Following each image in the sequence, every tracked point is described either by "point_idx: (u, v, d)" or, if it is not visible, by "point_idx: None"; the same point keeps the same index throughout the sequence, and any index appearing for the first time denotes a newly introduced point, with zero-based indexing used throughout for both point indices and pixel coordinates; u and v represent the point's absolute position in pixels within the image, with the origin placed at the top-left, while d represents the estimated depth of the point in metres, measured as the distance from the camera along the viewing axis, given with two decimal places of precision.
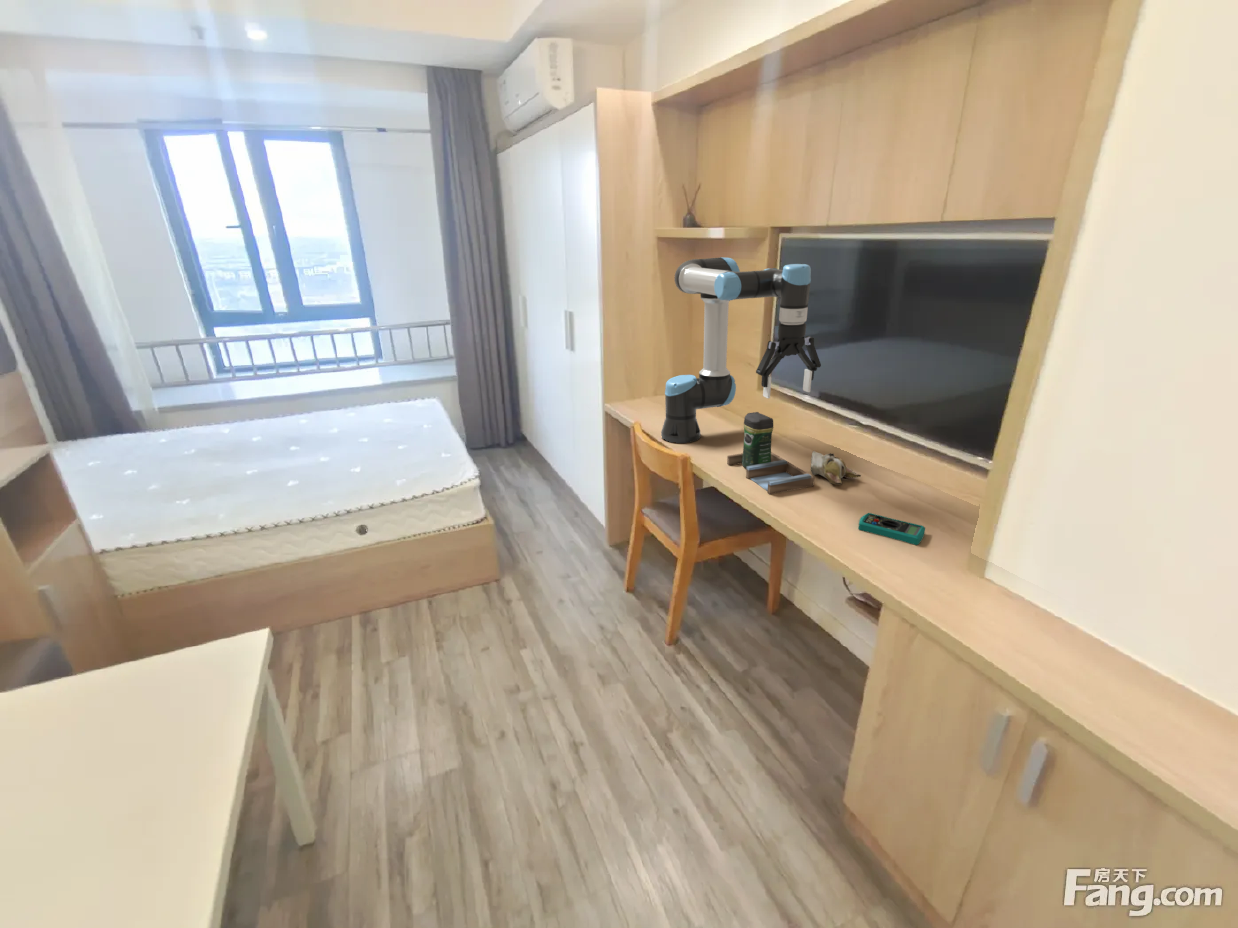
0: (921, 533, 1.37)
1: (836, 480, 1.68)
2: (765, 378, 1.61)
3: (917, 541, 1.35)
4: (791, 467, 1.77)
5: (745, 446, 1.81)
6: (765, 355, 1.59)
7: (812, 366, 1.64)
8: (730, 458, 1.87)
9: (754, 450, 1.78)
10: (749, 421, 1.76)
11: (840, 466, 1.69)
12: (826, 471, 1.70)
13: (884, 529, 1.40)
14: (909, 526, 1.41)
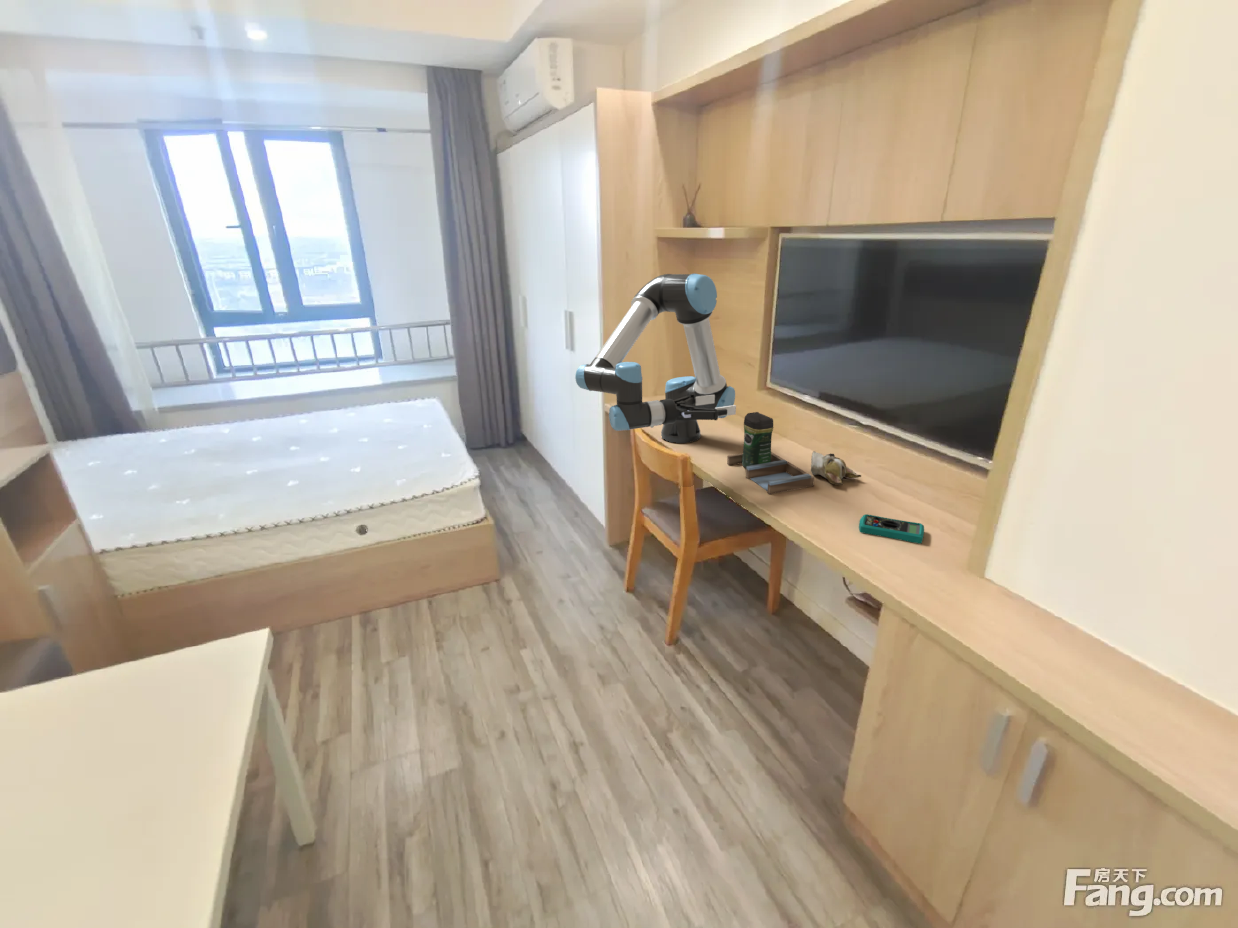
0: (923, 531, 1.37)
1: (836, 480, 1.68)
2: None
3: (921, 540, 1.36)
4: (791, 467, 1.77)
5: (745, 446, 1.81)
6: None
7: None
8: (730, 458, 1.87)
9: (754, 450, 1.78)
10: (749, 421, 1.76)
11: (840, 466, 1.68)
12: (826, 471, 1.70)
13: (887, 530, 1.39)
14: (908, 525, 1.41)
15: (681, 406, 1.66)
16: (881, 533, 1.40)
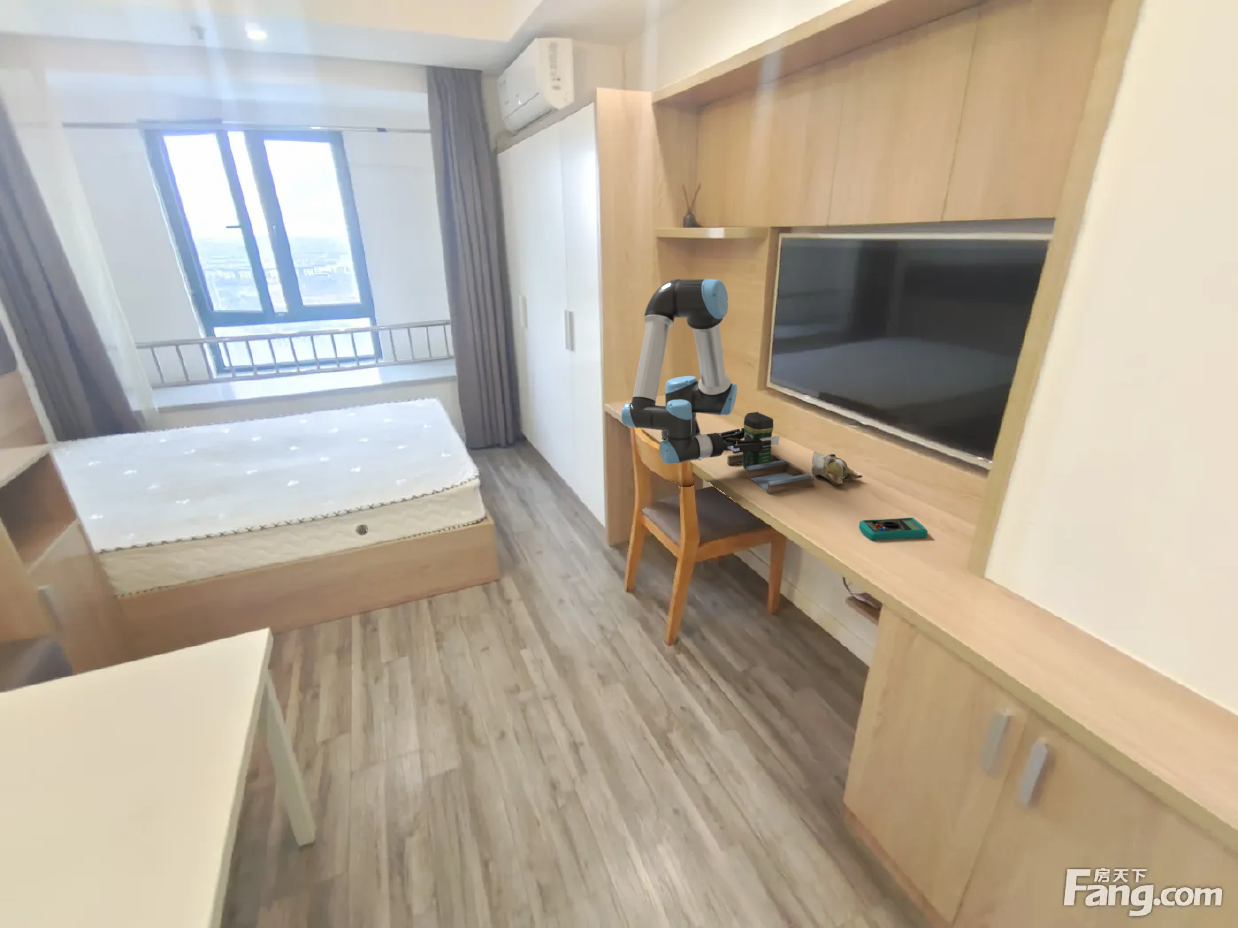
0: (922, 525, 1.40)
1: (838, 481, 1.68)
2: None
3: (926, 534, 1.38)
4: (791, 467, 1.77)
5: None
6: None
7: None
8: (730, 458, 1.87)
9: None
10: (749, 421, 1.76)
11: (841, 467, 1.68)
12: (827, 472, 1.69)
13: (896, 532, 1.38)
14: (903, 521, 1.43)
15: (727, 440, 1.75)
16: (891, 536, 1.38)
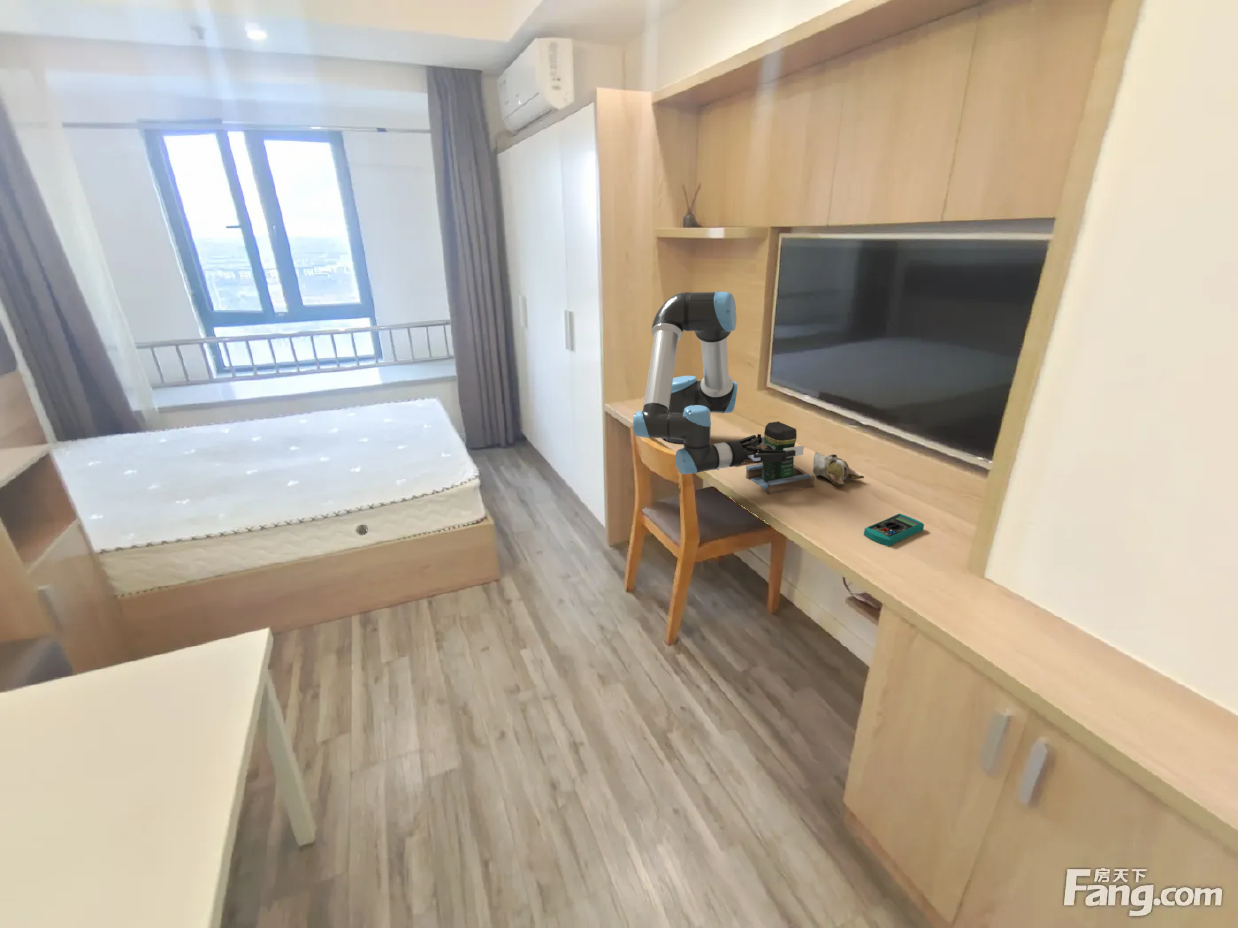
0: None
1: (839, 481, 1.67)
2: None
3: None
4: None
5: None
6: None
7: None
8: None
9: (775, 462, 1.66)
10: (771, 432, 1.65)
11: (843, 467, 1.68)
12: (829, 472, 1.69)
13: (904, 532, 1.38)
14: (896, 519, 1.44)
15: (748, 448, 1.63)
16: (901, 537, 1.38)
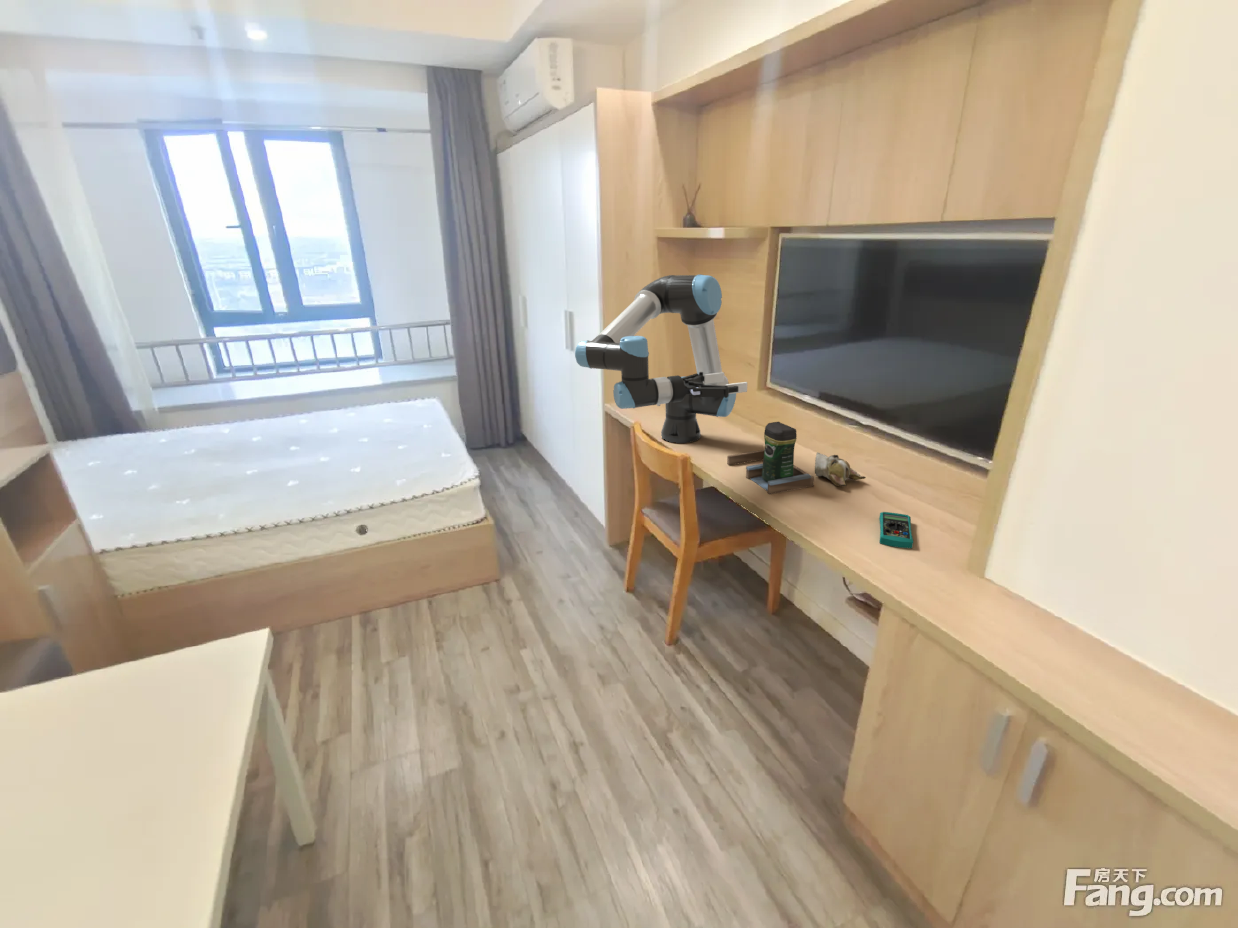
0: None
1: (840, 482, 1.67)
2: None
3: None
4: None
5: (766, 458, 1.70)
6: None
7: None
8: (730, 458, 1.87)
9: (775, 462, 1.66)
10: (771, 432, 1.65)
11: (844, 468, 1.67)
12: (830, 473, 1.69)
13: (910, 529, 1.39)
14: (887, 518, 1.45)
15: (689, 383, 1.57)
16: None
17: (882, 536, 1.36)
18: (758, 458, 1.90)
